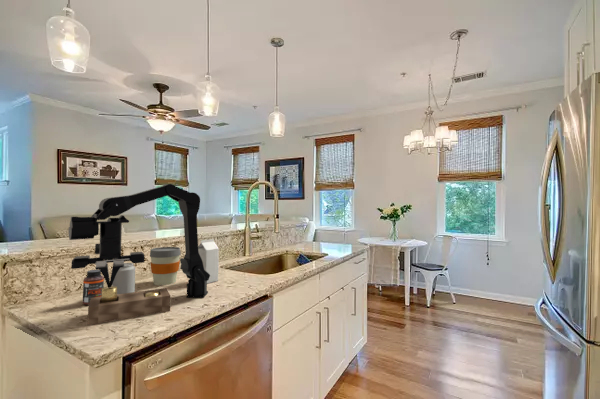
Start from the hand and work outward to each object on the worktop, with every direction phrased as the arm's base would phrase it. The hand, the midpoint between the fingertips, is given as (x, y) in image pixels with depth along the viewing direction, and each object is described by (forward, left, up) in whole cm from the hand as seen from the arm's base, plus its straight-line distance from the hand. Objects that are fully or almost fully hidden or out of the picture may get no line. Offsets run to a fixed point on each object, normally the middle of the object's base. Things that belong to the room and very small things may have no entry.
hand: (109, 287), depth 90 cm
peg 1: (0, 0, -5) cm, 5 cm away
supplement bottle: (+13, -12, -9) cm, 20 cm away
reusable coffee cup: (-1, -38, -9) cm, 39 cm away
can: (+7, -20, -9) cm, 23 cm away
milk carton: (-19, -40, -9) cm, 45 cm away
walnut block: (-5, -3, -9) cm, 11 cm away
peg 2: (-10, -6, -9) cm, 15 cm away
